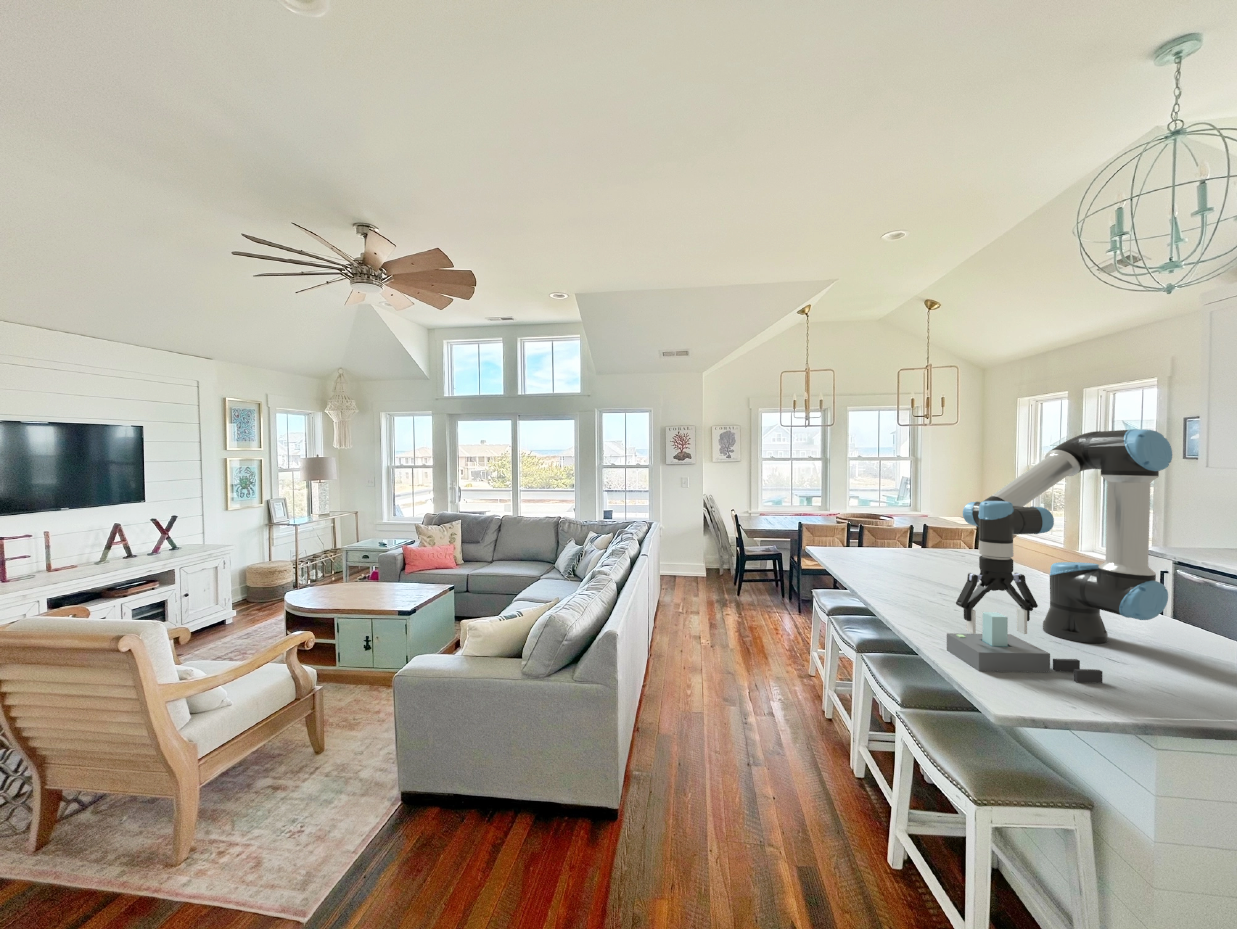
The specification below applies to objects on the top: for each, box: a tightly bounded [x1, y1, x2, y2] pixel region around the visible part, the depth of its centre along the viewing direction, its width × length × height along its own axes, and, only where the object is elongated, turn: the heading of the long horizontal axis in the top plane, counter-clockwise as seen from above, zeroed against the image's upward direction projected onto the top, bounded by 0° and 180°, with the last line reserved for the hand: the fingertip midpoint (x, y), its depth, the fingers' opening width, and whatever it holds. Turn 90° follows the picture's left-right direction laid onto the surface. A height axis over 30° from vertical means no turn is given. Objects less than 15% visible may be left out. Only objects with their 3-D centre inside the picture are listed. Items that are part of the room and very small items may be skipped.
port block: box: [946, 632, 1051, 673], centre depth 135 cm, size 18×14×5 cm
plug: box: [981, 611, 1009, 647], centre depth 135 cm, size 4×4×12 cm
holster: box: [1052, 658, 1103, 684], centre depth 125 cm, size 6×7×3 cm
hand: (996, 632), depth 135 cm, fingers open, 13 cm apart
